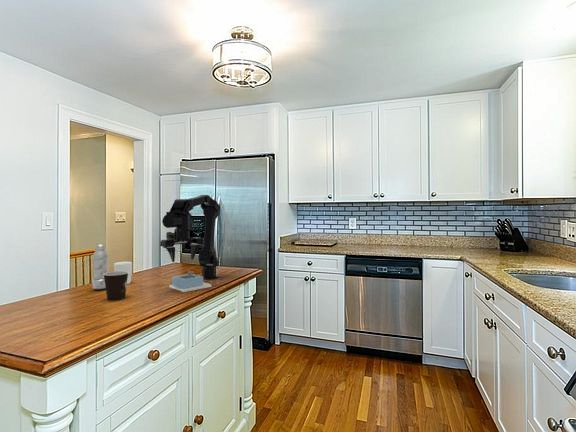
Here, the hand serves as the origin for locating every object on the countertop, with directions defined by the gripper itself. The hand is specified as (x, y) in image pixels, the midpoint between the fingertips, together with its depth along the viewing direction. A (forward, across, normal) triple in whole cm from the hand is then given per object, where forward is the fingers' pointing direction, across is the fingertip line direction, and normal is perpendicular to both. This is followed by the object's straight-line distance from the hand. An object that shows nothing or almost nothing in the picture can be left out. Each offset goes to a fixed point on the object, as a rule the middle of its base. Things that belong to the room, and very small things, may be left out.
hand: (182, 260), depth 143 cm
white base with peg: (+12, -3, +1) cm, 13 cm away
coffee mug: (+12, +26, -4) cm, 29 cm away
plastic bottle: (+12, +27, -24) cm, 38 cm away
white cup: (+13, +16, -29) cm, 35 cm away
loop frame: (+11, -2, +1) cm, 11 cm away
